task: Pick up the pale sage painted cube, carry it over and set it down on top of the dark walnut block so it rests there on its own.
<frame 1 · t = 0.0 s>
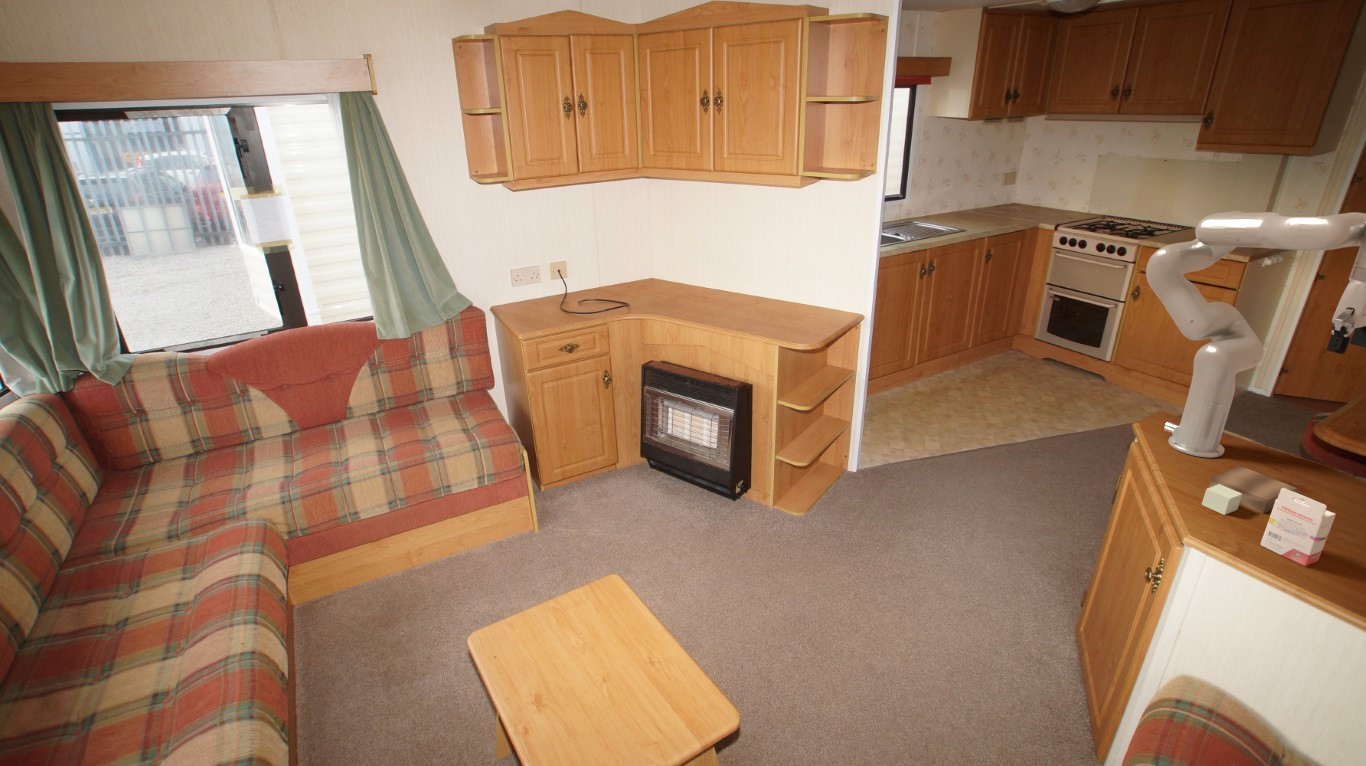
hand: (1347, 348, 152), 37 cm above the table, tool pointing down, fingers open, 9 cm apart
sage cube: (1219, 507, 159), on the table
ink cartridge box: (1288, 553, 142), on the table
walnut block: (1249, 496, 163), on the table
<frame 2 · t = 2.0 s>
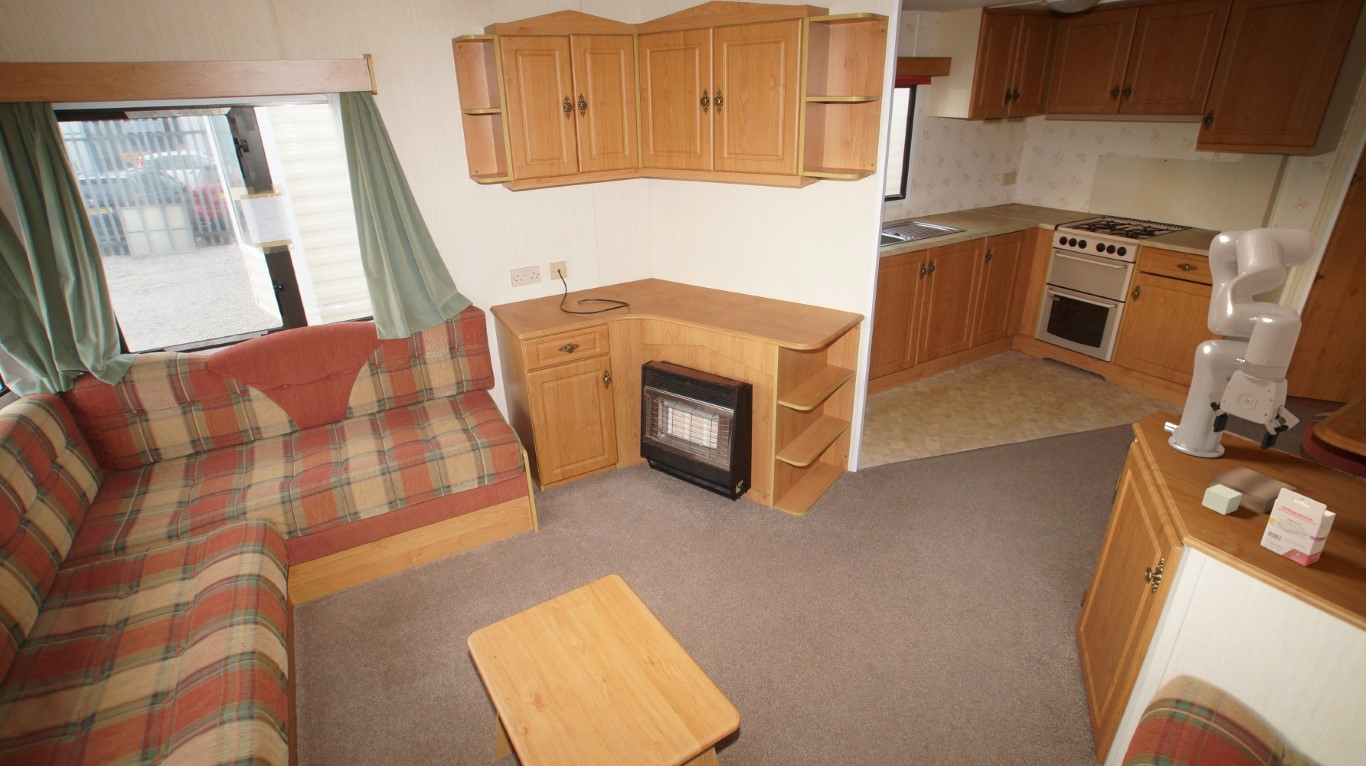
hand: (1241, 439, 151), 18 cm above the table, tool pointing down, fingers open, 9 cm apart
nothing on the table moved.
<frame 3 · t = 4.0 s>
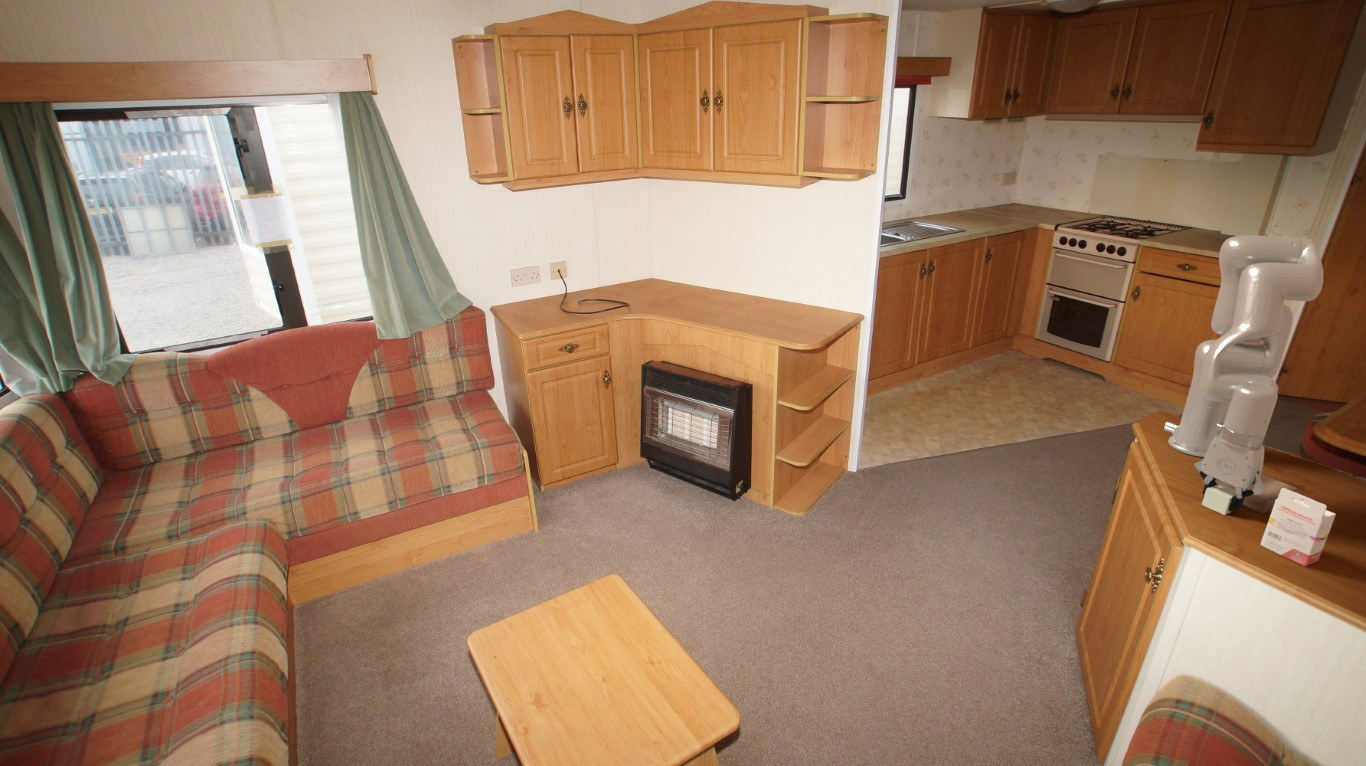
hand: (1220, 503, 158), 1 cm above the table, tool pointing down, fingers closed on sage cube, 5 cm apart
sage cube: (1219, 507, 159), on the table, touching gripper
everything else where it was.
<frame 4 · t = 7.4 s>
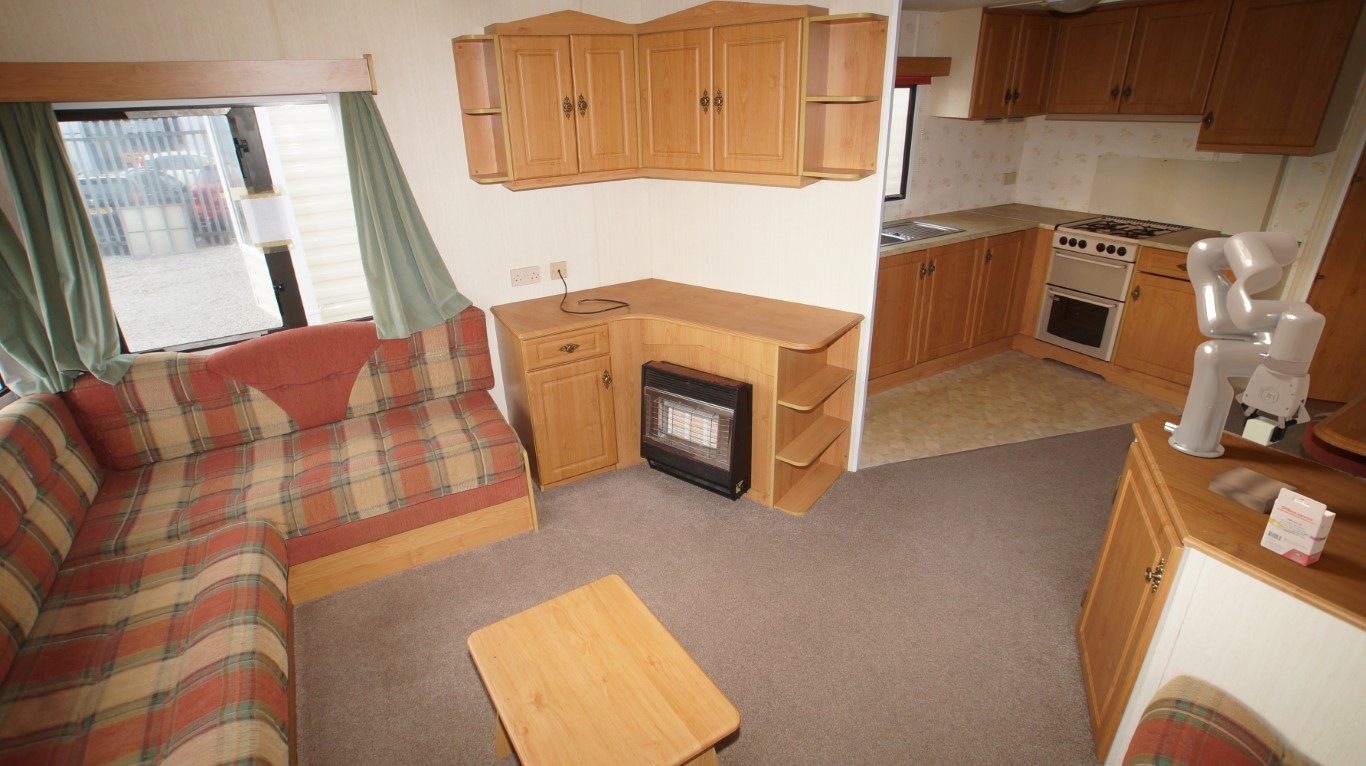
hand: (1261, 435, 156), 17 cm above the table, tool pointing down, fingers closed on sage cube, 4 cm apart
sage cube: (1260, 439, 156), point 16 cm above the table, touching gripper
everything else where it was.
when the fingers open (6 cm above the table, at t = 10.6 s): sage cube drops 2 cm, resting on walnut block.
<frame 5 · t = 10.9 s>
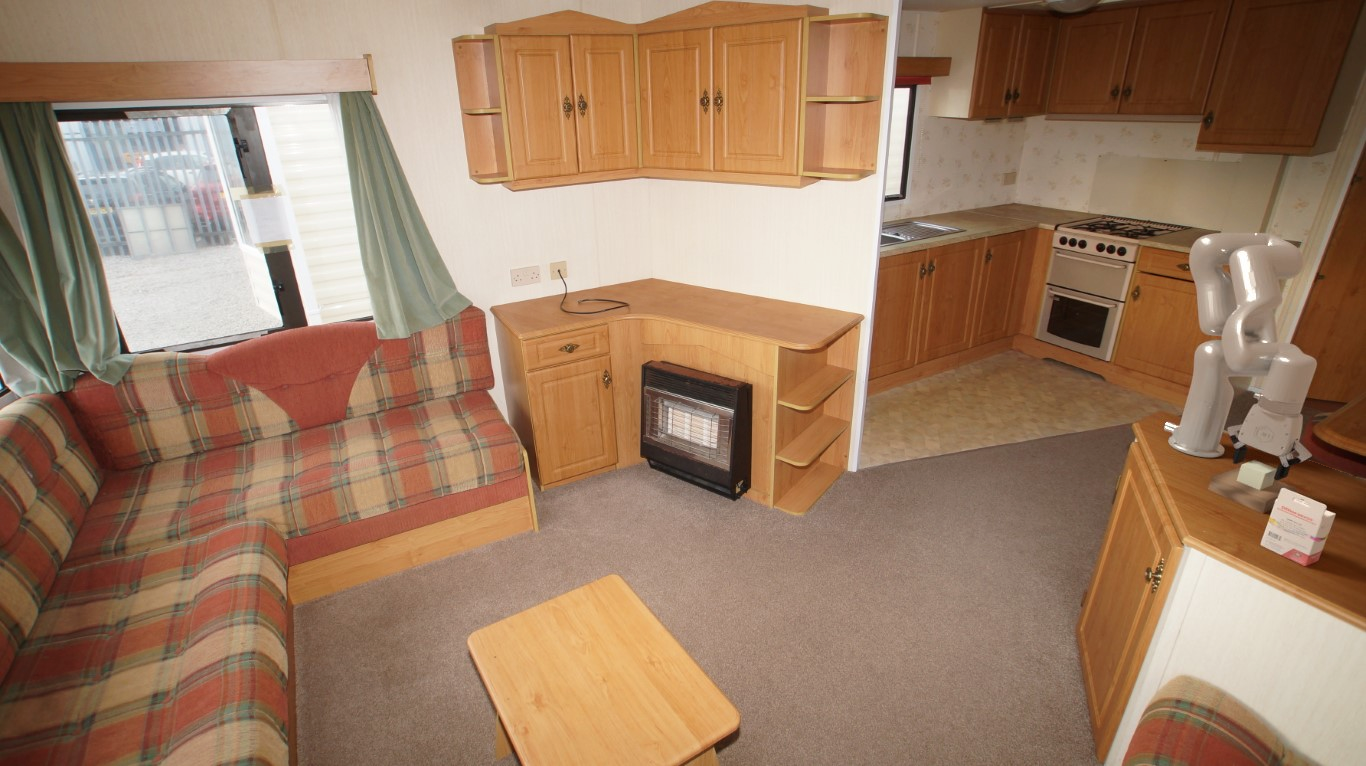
hand: (1258, 470, 160), 7 cm above the table, tool pointing down, fingers open, 8 cm apart
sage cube: (1254, 482, 161), point 4 cm above the table, touching walnut block
walnut block: (1248, 496, 163), on the table, touching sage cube
everything else where it was.
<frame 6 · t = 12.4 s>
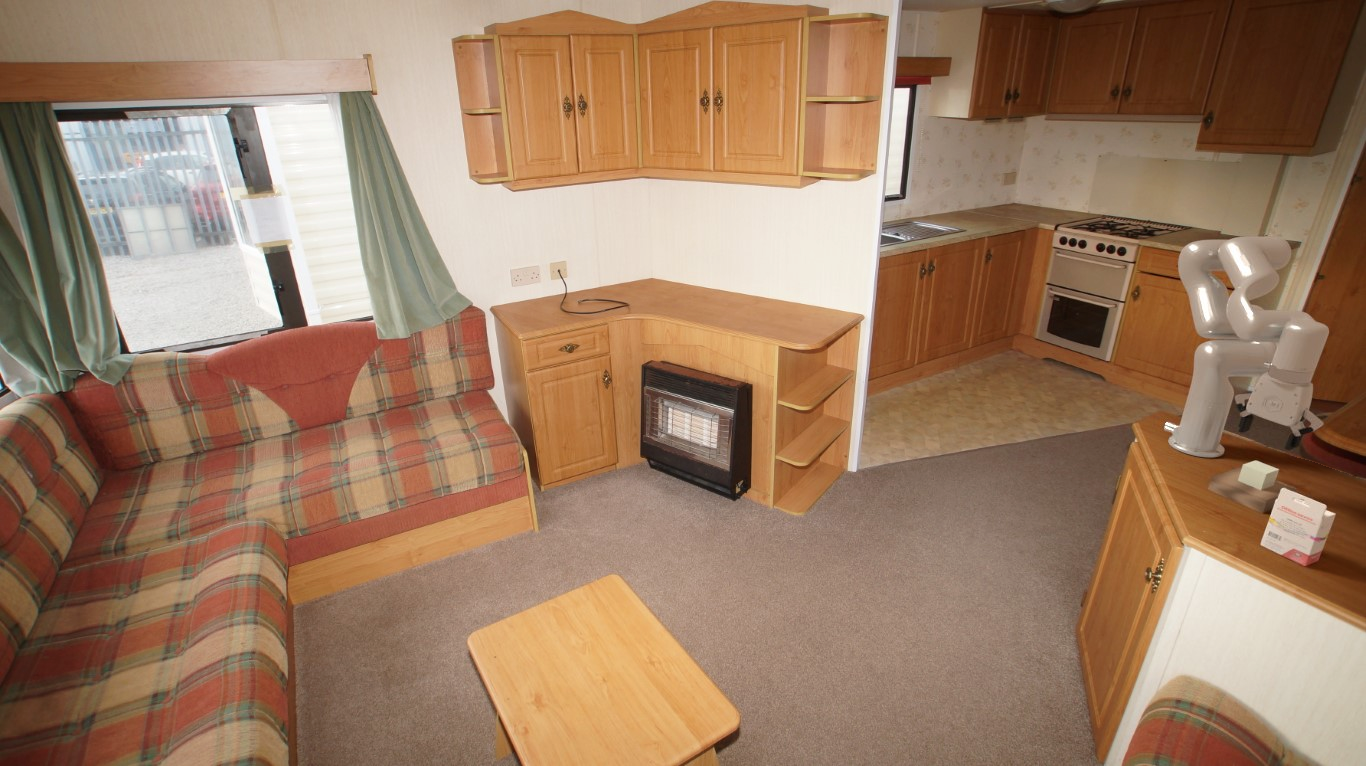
hand: (1266, 439, 158), 15 cm above the table, tool pointing down, fingers open, 9 cm apart
nothing on the table moved.
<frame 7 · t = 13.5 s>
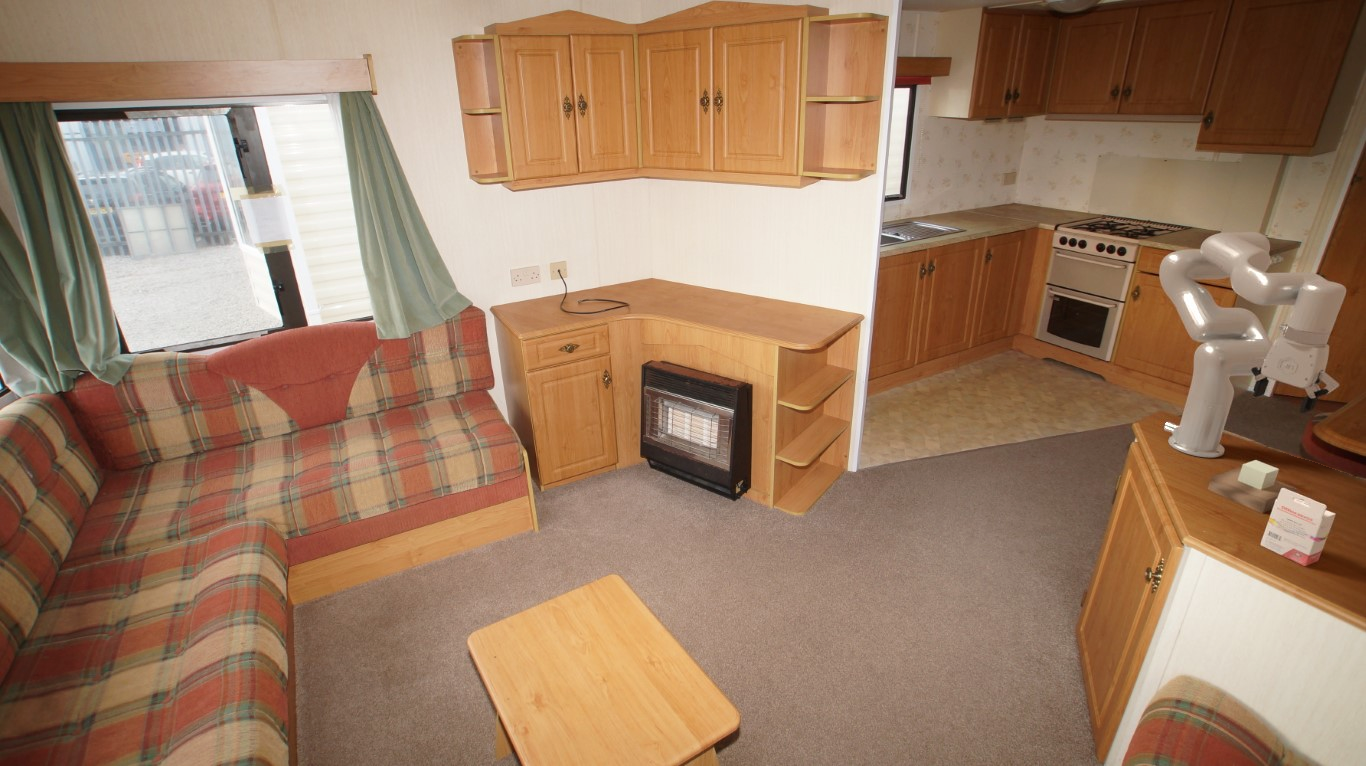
hand: (1281, 403, 157), 23 cm above the table, tool pointing down, fingers open, 9 cm apart
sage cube: (1255, 482, 161), point 3 cm above the table
walnut block: (1248, 496, 163), on the table
everything else where it was.
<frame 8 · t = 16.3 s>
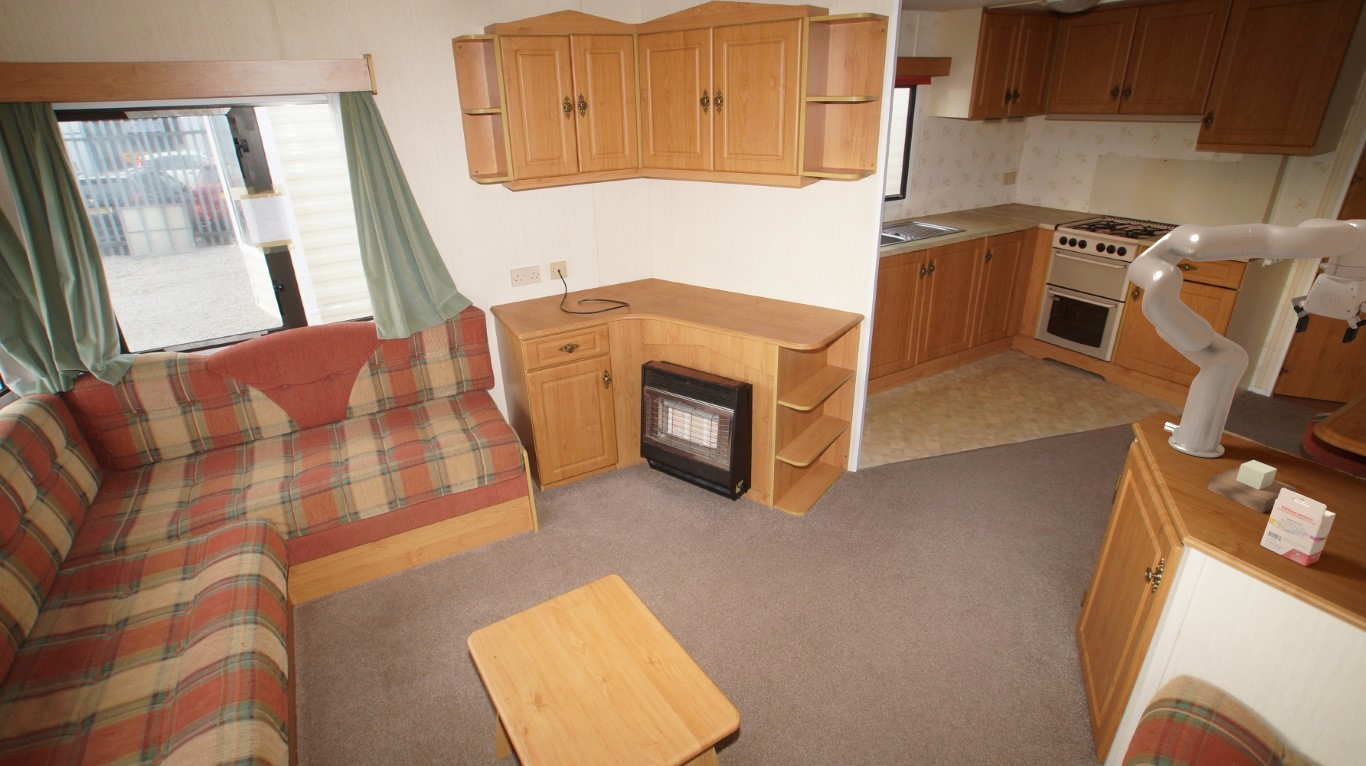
hand: (1323, 337, 169), 33 cm above the table, tool pointing down, fingers open, 9 cm apart
nothing on the table moved.
at the end: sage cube inside the target area on the walnut block (0.1 cm from its centre), point 4.0 cm above the walnut block's base; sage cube tilted 0°; the gripper is holding nothing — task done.
